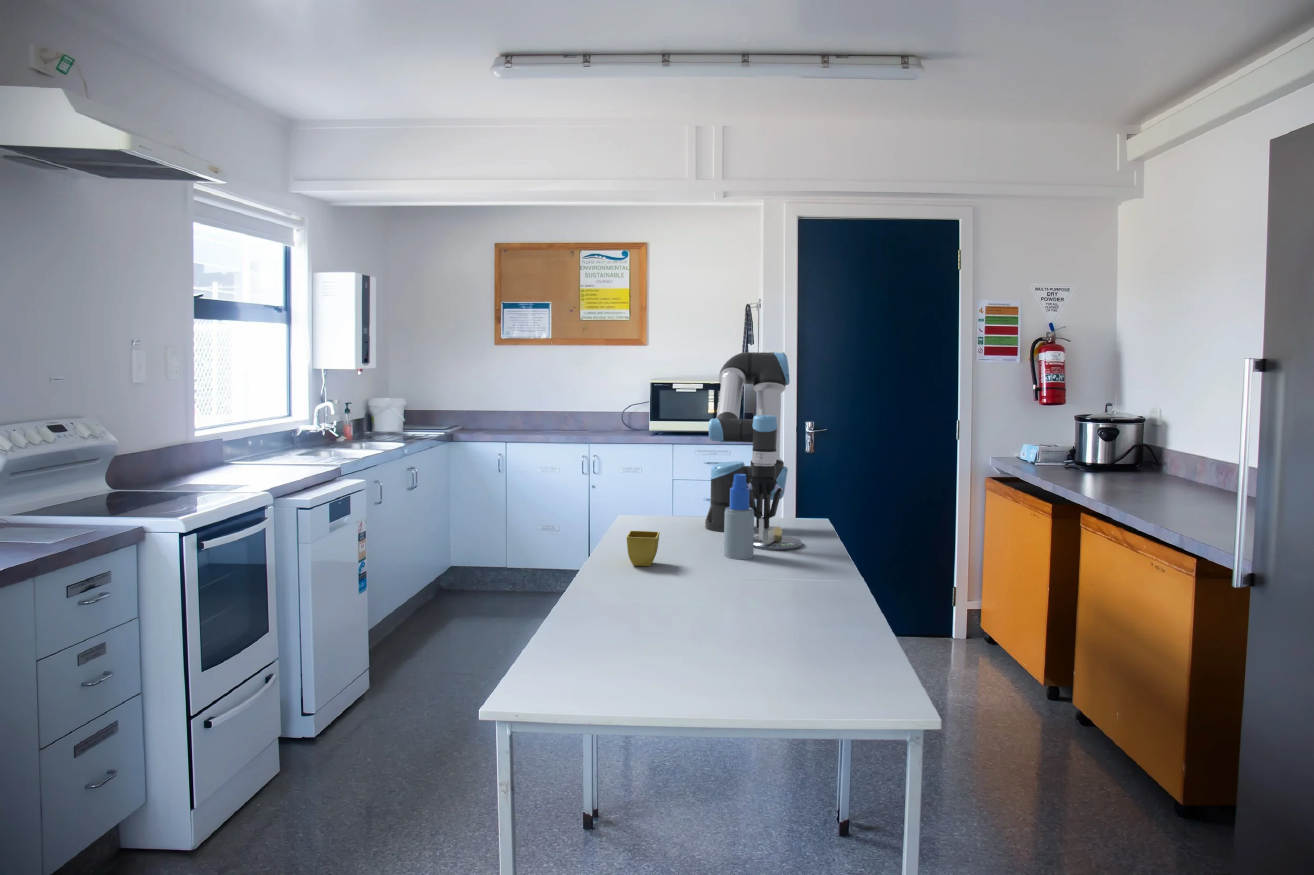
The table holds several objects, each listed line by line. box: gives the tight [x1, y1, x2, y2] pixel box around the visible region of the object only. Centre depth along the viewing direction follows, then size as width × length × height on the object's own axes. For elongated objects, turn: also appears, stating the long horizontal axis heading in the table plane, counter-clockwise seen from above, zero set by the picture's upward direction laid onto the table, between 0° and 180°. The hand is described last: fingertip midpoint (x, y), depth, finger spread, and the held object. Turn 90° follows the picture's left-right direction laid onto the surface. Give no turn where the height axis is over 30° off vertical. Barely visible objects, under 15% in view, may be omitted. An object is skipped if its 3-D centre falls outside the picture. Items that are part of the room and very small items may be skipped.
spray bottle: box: [723, 474, 755, 560], centre depth 245 cm, size 9×9×25 cm
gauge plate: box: [753, 535, 802, 552], centre depth 261 cm, size 17×17×1 cm
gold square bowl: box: [626, 530, 661, 567], centre depth 234 cm, size 9×9×9 cm
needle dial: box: [763, 525, 783, 544], centre depth 258 cm, size 11×4×5 cm, turn 151°
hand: (762, 538), depth 255 cm, fingers closed
